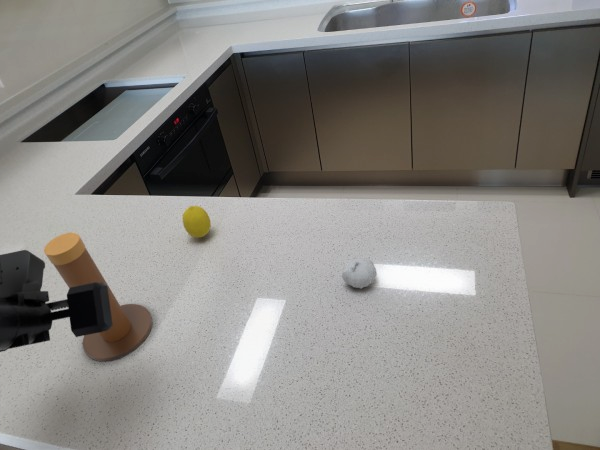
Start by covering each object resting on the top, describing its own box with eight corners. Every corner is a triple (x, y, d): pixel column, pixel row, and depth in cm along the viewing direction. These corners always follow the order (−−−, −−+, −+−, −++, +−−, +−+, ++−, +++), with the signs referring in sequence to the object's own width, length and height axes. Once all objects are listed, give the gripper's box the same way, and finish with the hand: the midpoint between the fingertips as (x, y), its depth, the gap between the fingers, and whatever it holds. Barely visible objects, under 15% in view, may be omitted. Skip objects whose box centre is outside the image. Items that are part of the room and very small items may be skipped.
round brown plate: (99, 374, 74) (97, 371, 74) (75, 335, 82) (72, 332, 82) (164, 329, 80) (162, 326, 79) (135, 296, 87) (133, 293, 87)
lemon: (212, 243, 97) (201, 212, 92) (187, 246, 97) (174, 216, 92) (216, 227, 101) (206, 197, 96) (192, 230, 102) (180, 200, 97)
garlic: (354, 299, 78) (351, 277, 74) (338, 280, 82) (334, 258, 79) (384, 284, 79) (382, 262, 76) (367, 266, 83) (364, 245, 80)
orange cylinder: (130, 337, 78) (75, 249, 66) (99, 345, 78) (39, 258, 66) (132, 315, 82) (82, 228, 70) (104, 323, 82) (48, 237, 70)
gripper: (66, 236, 52) (125, 248, 67) (-94, 270, 52) (0, 274, 67) (79, 336, 50) (136, 324, 65) (-87, 370, 50) (9, 350, 66)
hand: (69, 316), depth 66 cm, fingers open, 9 cm apart
